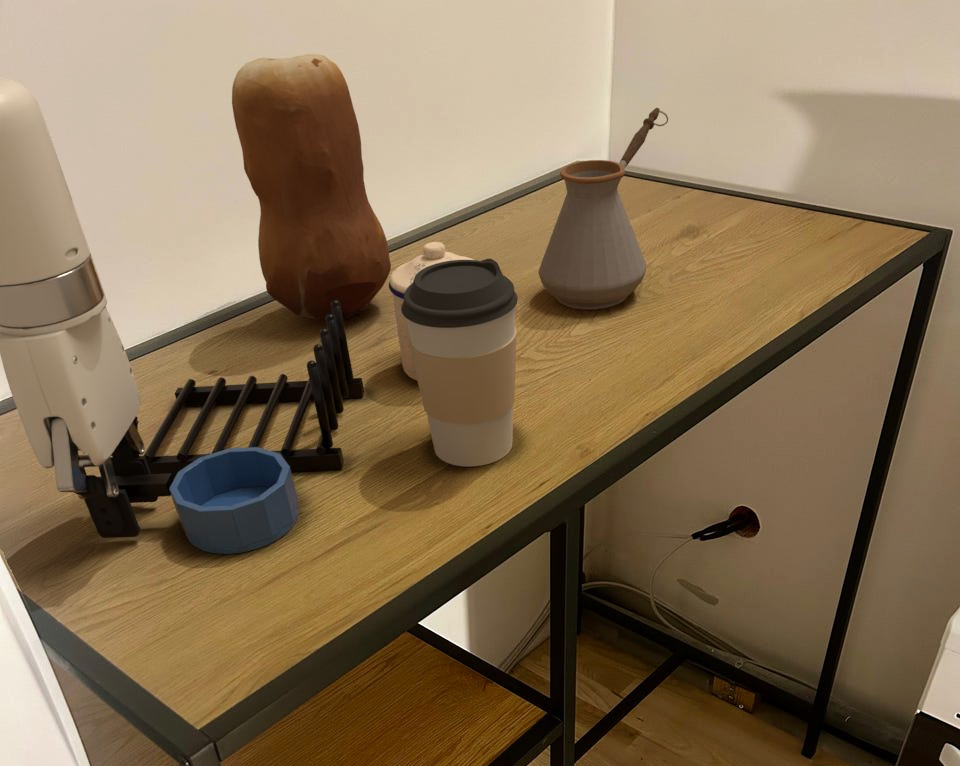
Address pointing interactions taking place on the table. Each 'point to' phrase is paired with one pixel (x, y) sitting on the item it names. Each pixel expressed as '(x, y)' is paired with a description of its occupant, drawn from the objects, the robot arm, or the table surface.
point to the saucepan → (227, 498)
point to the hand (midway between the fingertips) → (130, 515)
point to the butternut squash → (309, 185)
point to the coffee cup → (465, 357)
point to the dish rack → (273, 406)
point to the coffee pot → (595, 235)
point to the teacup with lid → (403, 280)
